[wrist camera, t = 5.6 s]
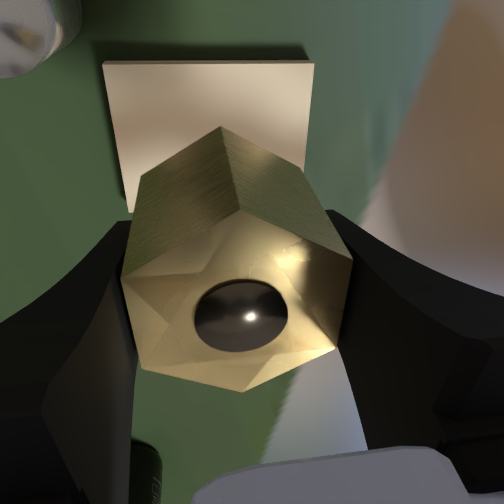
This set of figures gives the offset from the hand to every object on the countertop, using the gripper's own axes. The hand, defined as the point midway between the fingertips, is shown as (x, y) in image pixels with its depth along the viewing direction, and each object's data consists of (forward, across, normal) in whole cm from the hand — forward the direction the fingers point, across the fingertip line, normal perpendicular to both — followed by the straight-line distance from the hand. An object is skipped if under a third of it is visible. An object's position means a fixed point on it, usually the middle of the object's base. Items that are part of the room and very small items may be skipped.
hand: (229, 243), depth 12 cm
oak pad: (+9, 0, 0) cm, 9 cm away
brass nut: (+2, 0, 0) cm, 2 cm away
